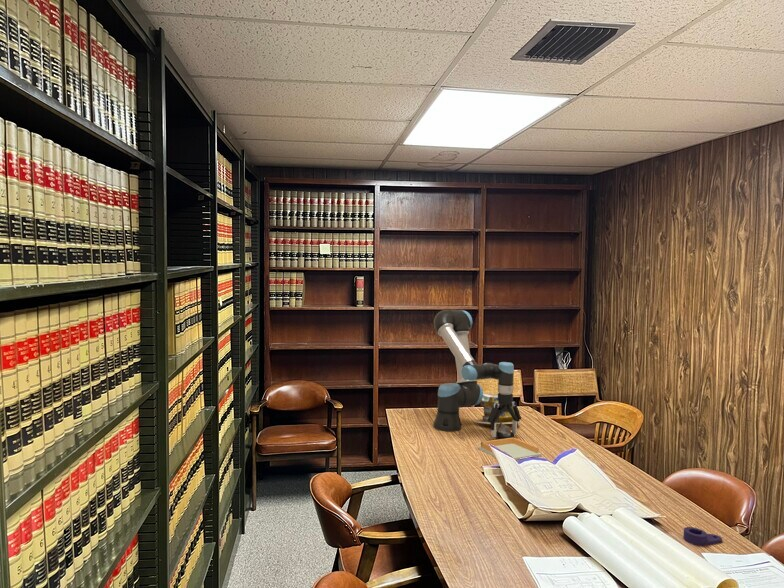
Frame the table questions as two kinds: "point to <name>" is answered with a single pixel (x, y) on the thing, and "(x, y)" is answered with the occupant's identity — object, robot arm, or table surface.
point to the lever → (700, 537)
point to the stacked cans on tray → (488, 405)
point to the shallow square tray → (511, 447)
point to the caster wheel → (504, 432)
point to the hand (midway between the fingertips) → (503, 435)
